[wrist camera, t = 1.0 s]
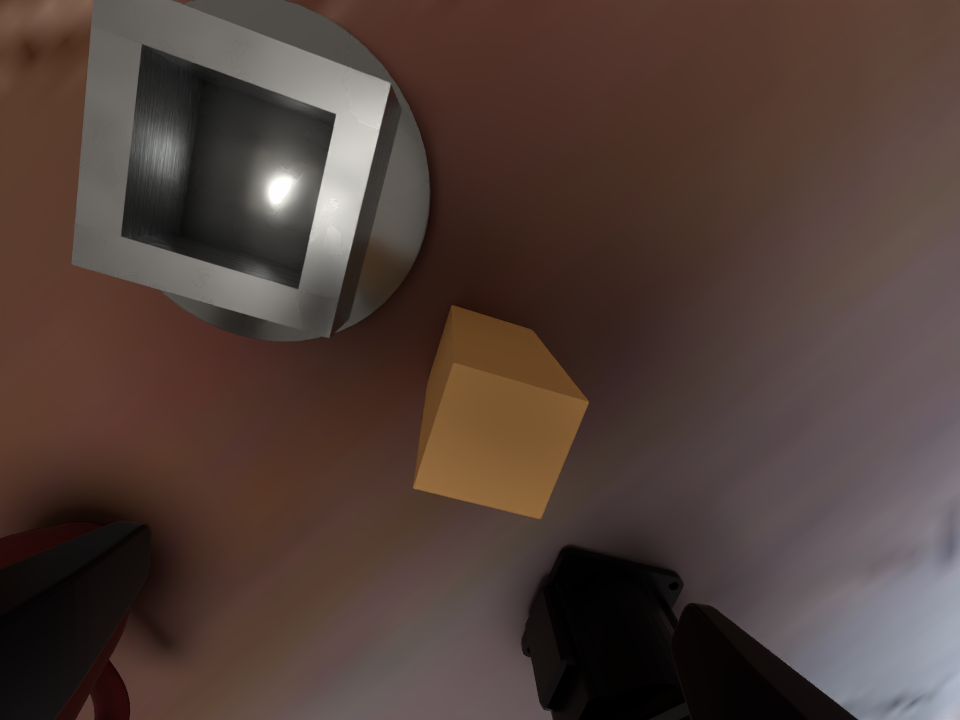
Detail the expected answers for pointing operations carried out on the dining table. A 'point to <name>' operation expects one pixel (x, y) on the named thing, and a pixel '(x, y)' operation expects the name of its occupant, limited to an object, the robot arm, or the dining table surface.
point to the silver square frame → (247, 165)
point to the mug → (103, 675)
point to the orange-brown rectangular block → (496, 416)
